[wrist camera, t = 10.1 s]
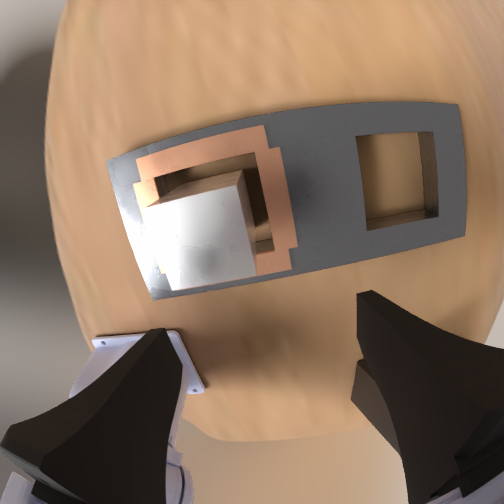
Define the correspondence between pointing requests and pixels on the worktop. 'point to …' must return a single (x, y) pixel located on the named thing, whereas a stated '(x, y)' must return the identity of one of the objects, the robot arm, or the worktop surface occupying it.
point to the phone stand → (373, 403)
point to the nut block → (205, 231)
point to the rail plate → (306, 186)
